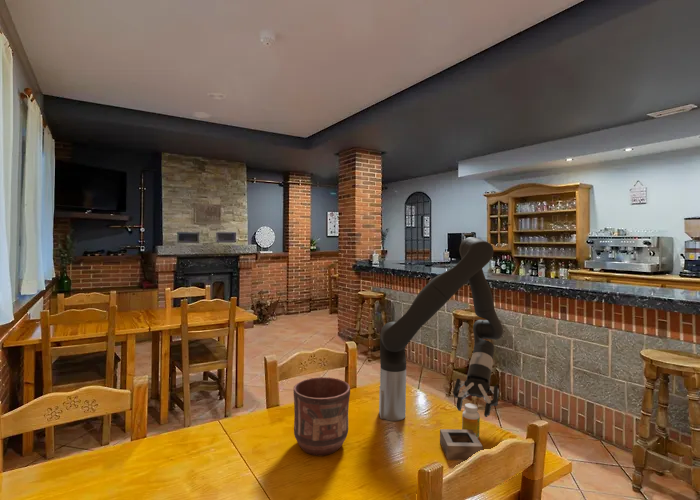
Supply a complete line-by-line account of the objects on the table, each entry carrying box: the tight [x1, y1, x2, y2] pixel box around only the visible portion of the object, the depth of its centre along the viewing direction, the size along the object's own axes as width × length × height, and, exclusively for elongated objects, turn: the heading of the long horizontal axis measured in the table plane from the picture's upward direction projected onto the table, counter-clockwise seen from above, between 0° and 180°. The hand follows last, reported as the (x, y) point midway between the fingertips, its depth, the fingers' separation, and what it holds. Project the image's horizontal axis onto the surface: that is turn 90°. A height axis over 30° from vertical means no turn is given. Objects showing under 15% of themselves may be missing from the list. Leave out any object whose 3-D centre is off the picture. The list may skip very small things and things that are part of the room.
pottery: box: [293, 376, 351, 456], centre depth 119 cm, size 18×18×18 cm
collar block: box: [439, 428, 484, 461], centre depth 117 cm, size 10×10×4 cm
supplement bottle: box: [461, 402, 481, 439], centre depth 127 cm, size 5×5×10 cm
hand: (472, 412), depth 128 cm, fingers open, 8 cm apart
